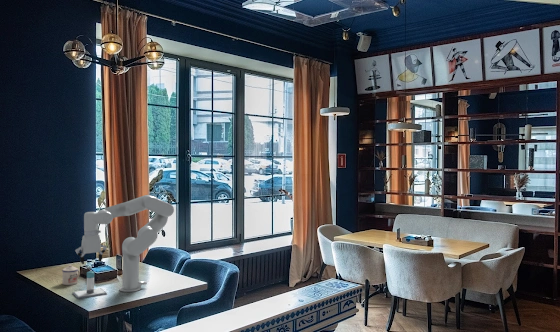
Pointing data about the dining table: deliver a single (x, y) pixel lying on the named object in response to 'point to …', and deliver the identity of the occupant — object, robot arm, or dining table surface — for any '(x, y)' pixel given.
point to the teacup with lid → (70, 275)
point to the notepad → (84, 294)
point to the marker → (90, 282)
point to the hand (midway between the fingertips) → (91, 262)
